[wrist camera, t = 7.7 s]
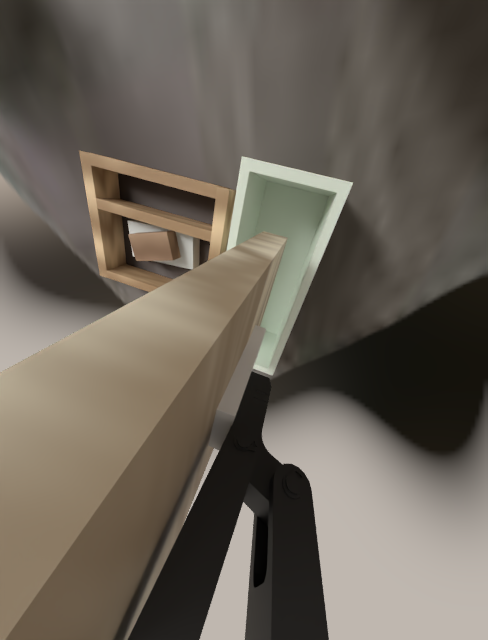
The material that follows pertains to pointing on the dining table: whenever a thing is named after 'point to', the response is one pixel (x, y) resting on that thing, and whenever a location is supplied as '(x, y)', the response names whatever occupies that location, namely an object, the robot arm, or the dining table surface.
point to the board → (117, 446)
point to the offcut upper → (155, 246)
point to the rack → (145, 216)
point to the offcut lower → (185, 242)
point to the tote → (293, 223)
